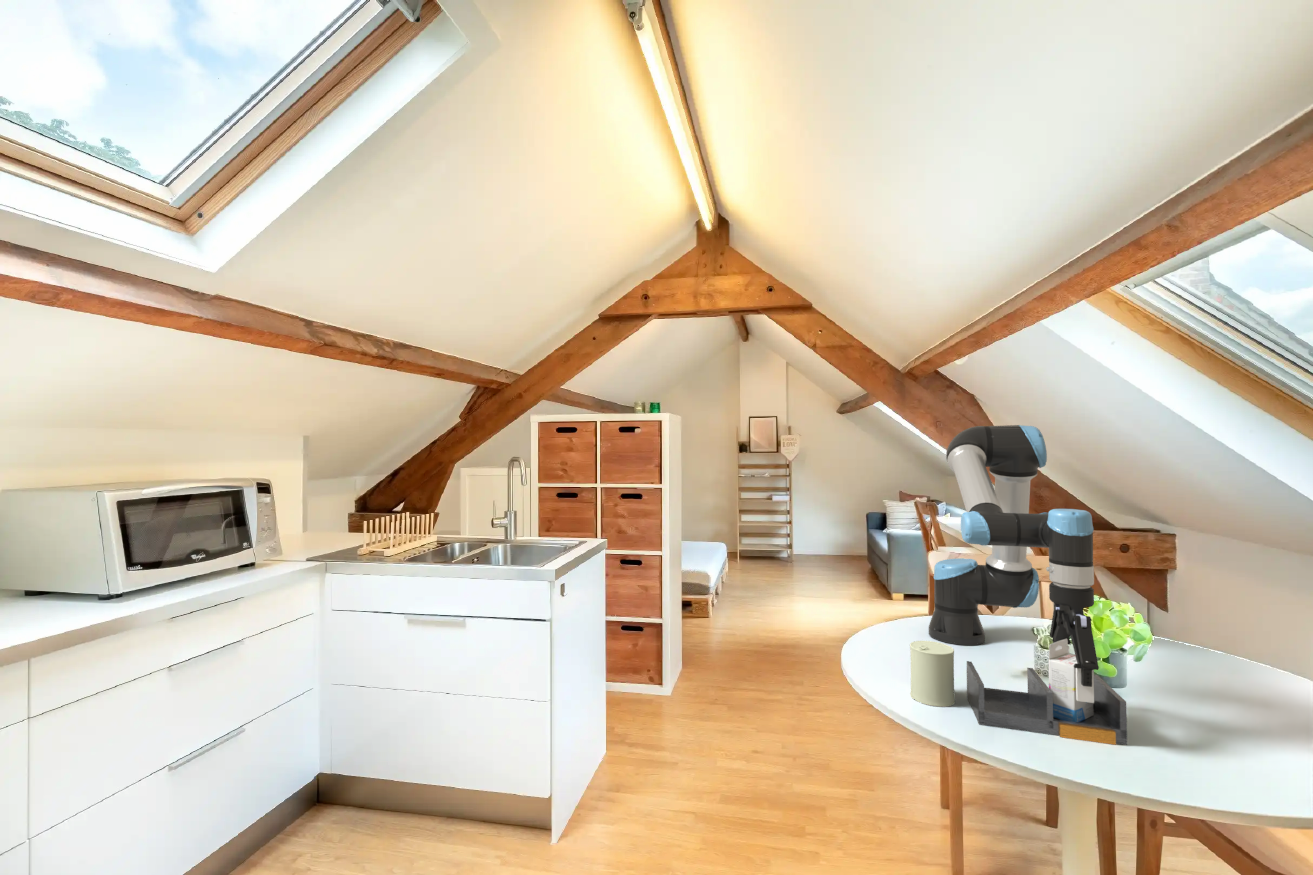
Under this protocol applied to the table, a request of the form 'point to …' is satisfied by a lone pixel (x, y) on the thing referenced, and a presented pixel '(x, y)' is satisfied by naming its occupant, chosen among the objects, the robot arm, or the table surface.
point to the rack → (1047, 710)
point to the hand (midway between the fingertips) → (1072, 687)
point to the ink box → (1065, 685)
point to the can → (932, 673)
